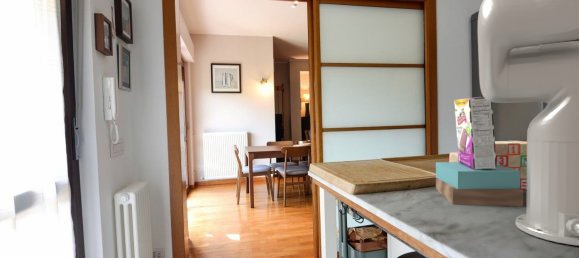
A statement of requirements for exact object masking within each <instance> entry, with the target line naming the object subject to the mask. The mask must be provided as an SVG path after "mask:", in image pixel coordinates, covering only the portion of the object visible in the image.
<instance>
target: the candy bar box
mask: <svg viewBox="0 0 579 258" xmlns="http://www.w3.org/2000/svg"><path fill="white" fill-rule="evenodd" d="M453 105H454V116H455V129H456V143H457V152H458V160H459V163H462V164H464V165H466V166H468V167H470V168H472V169H474V170H490V169H497V166H496V151H495V141H496V138H495V137H496V136H495V125H494V123H495V121H494V111H493V110H494V108H493V102H490V101H488V100H486V99H485V98H484V97H483V96H478V97H477V96H476V97H468V98H467V97H466V98H457V99H453Z"/></svg>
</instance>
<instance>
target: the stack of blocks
mask: <svg viewBox="0 0 579 258" xmlns="http://www.w3.org/2000/svg"><path fill="white" fill-rule="evenodd" d="M495 151H496V164H497V165H501V166H504V167H508V168H511V169H515V170H518V171H520V189H521V190H523V191H525V190H526V191H527V140H525V141H524V140H523V141H521V140H506V141H505V140H499V141H497V140H495ZM448 158H449V161H448V162H459V160H458V151H457V152H455V151H454V152H449V157H448Z"/></svg>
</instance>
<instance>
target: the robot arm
mask: <svg viewBox="0 0 579 258" xmlns="http://www.w3.org/2000/svg"><path fill="white" fill-rule="evenodd" d="M477 47H478V48H477V50H478V51H477V53H478V77H479V78H478V79H479V87H480V92H481V95H482V97H484V98H485V99H486V100H488V101H490V102H492V103H494V104H495V103H500V104H502V103H509V104H510V103H533V102H534V103H536V102H537V103H546V104H547V105H546V106H545V107H544V108H543V110H541V111H540V112H539V113H538V114H537V115H535V117H533V119H531V121H530V123H529V124H528V128H527V131H526V141H527V190H526V207H525V208H526V209H525V211H526V213H524V214H523V213H522V214H520V215H518V216H516V217H515V226H516V227H517V228H518V229H519V230H521V231H523V232H524V233H526V234H528V235H531V236H534V237H536V238H540V239H542V240H546V241H551V242H554V243H559V244H565V245H569V246H570V245H571V246H576V247H577V246H578V247H579V0H482V2H481V4H480V7H479V10H478V16H477Z"/></svg>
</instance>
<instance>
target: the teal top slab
mask: <svg viewBox="0 0 579 258" xmlns="http://www.w3.org/2000/svg"><path fill="white" fill-rule="evenodd" d="M496 166H497V169H490V170H474V169H472V168H470V167H468V166H466V165H464V164H462V163H459V162H449V161H447V162H445V161H443V162H442V161H440V162H439V161H438V162H436V161H435V179H436V178H438V179H440V180H442V181H444V182H445V183H447V184H449V185H451V186H453V187H455V188H457V189H520V171H518V170H515V169H511V168H508V167H504V166H501V165H497V164H496Z"/></svg>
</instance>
